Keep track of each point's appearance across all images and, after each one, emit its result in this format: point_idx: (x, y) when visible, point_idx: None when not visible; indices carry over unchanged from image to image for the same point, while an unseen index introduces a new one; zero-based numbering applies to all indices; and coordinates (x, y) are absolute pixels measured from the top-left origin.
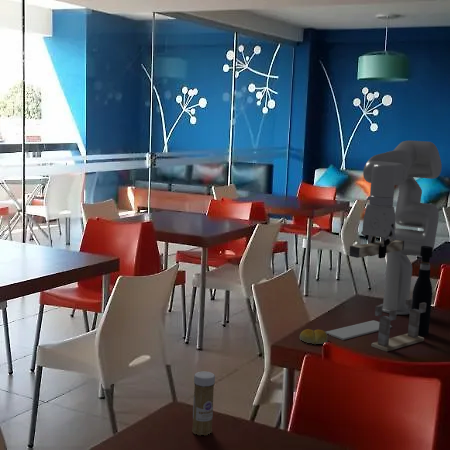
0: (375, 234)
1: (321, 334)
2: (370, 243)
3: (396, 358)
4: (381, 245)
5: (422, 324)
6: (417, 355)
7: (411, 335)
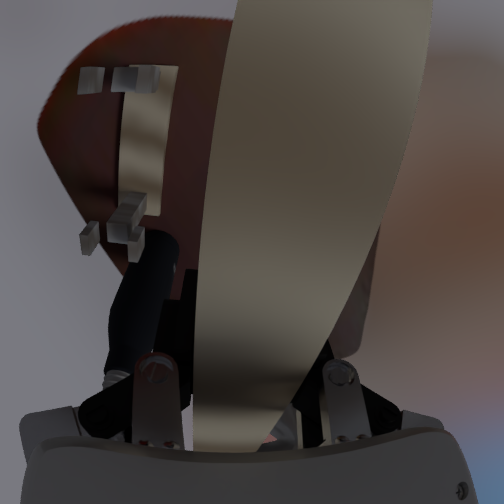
0: (243, 481)
1: None
2: (306, 349)
3: (97, 48)
4: (170, 364)
5: None
6: (77, 106)
7: (135, 193)
